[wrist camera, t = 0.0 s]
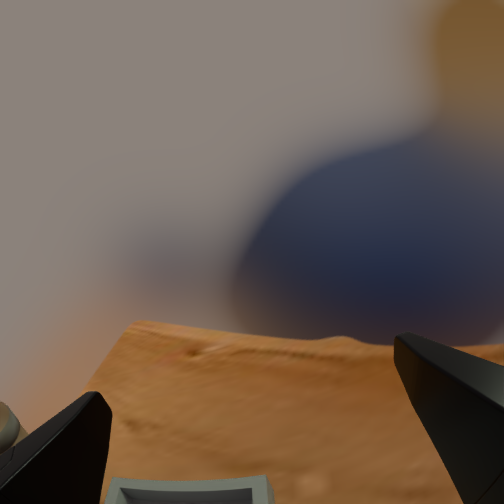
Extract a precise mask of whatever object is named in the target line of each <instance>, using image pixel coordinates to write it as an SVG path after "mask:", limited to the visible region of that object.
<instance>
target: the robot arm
mask: <svg viewBox="0 0 504 504" xmlns="http://www.w3.org/2000/svg"><path fill="white" fill-rule="evenodd" d="M394 363H395V366H396V368H397V371H398V373H399V375H400V378H401V380H402V382H403V385H404V387H405V389H406V392H407V394H408V397H409V399H410V401H411V404H412V406H413V408H414V409H415V411H416V413H417V415H418V417H419V418H420V420H421V422H422V424H423V426H424V427H425V429H426V431H427V433H428V435H429V437H430V438H431V440H432V442H433V444H434V446H435V448H436V450H437V452H438V453H439V455H440V457H441V459H442V461H443V463H444V465H445V467H446V469H447V471H448V473H449V475H450V477H451V479H452V481H453V483H454V485H455V487H456V489H457V491H458V493H459V495H460V497H461V499H462V501H463V504H504V366H502V365H499V364H496V363H493V362H490V361H488V360H485V359H482V358H479V357H476V356H474V355H471V354H468V353H465V352H463V351H460V350H457V349H454V348H452V347H449V346H446V345H444V344H441V343H438V342H435V341H433V340H430V339H427V338H424V337H422V336H419V335H417V334H414V333H411V332H404V333H401V334H398V335H396V337H395V339H394ZM111 423H112V411H111V408H110V407H109V405H108V404H107V402H106V401H105V399H104V398H103V396H102V395H101V394H100V393H99V392H97V391H90V392H86V393H85V394H84V395H82V396H81V397H80V398H78V399H77V400H76V401H74V402H73V403H72V404H70V405H69V406H67V407H66V408H65V409H63V410H62V411H61V412H59V413H58V414H57V415H55V416H54V417H52V418H51V419H50V420H48V421H47V422H46V423H44V424H43V425H42V426H40V427H39V428H37V429H36V430H35V431H33V432H32V433H31V434H29V435H28V436H26V437H25V438H24V439H22V440H21V441H20V442H18V443H17V444H16V445H14V446H13V447H11V448H10V449H8V450H7V451H5V452H4V453H3V454H1V455H0V504H99V503H100V496H101V490H102V485H103V479H104V473H105V468H106V463H107V458H108V451H109V441H110V432H111Z"/></svg>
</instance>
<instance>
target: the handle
mask: <svg viewBox="0 0 504 504" xmlns="http://www.w3.org/2000/svg"><path fill="white" fill-rule="evenodd" d="M28 435H29V434H28V433H27V432H26V430H25V429H24V428H23V427H22V426H21V424H20V422H19V420H18V419H17V418H16V416H15V415H14V414H13V412H12V411H11V410H10V408H9V407H8V406H7V405H5V404H4V403H3V402H0V455H1V454H3V453H4V452H5V451H7V450H8V449H10V448H11V447H13V446H14V445H16V444H17V443H18V442H20V441H21V440H22V439H24V438H25V437H26V436H28Z"/></svg>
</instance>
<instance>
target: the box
mask: <svg viewBox="0 0 504 504" xmlns="http://www.w3.org/2000/svg"><path fill="white" fill-rule="evenodd" d="M104 504H275V500H274V490H273V488H272V486H271V484H270V482H269V480H268V478H267V476H266V475H260V476H252V477H243V478H233V479H221V480H202V481H157V480H139V479H127V478H117V477H112V480H111V483H110V486H109V490H108V493H107V496H106V499H105V503H104Z"/></svg>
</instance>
